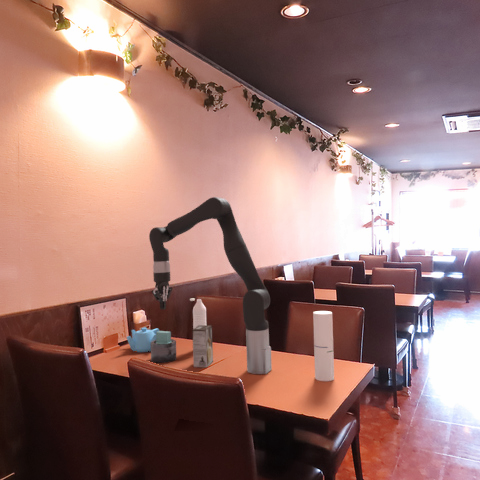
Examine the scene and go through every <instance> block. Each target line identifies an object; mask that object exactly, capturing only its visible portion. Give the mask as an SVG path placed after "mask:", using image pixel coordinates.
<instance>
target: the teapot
mask: <svg viewBox="0 0 480 480" xmlns="http://www.w3.org/2000/svg"><path fill="white" fill-rule="evenodd" d="M158 331H160V329H159V328H154V329H148V328H147V327H145V326H144V327H141V329H140V330H137V331H136V330H135V329H131V335H129V336H126V339H127V342H128V345H129V347H130V349H131V351H132V352H134V351H137V352H136V353H148V351H149V352H151V342H152V341H154V340H156V332H158Z"/></svg>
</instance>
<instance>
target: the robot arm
mask: <svg viewBox="0 0 480 480" xmlns="http://www.w3.org/2000/svg"><path fill="white" fill-rule="evenodd" d="M207 220H216V221H217V222H218V225H219V227H220V229H221V231H222V236H223V237H222V239H223V250H224V252H225V255H226V257H227V261H228V262H229V265H231V268H232V269H233V270H234V272H236V274H237V275H238V276H239V277H240V278H241V280H242V281H243V282H244V285H245V287H246V289H247V291H246V292H245V293H244V296H242V297H243V298H242V311H243V312H242V314H243V322H244V325H245V336H246V337H245V342H246V343H245V344H246V371H247V373H250V374H253V375H262V374H263V375H267V374H268V373H269V372H270V371H271V370H272V347H271V346H270V334H269V333H270V332H269V330H270V329H269V328H270V327H269V321H268V320H266V318H265V317H266V316H265V310H266V309H268V308H269V306H270V304H271V297H270V293H269V291H268V289H267V288H266V286H265V284H264V283H263V281H262V278H261V277H260V275H259V273H258V270H257V268H256V265H255V263H254V261H253V259H252V256H251V254H250V251H249V249H248V247H247V245H246V242H245V240H244V239H243V236H242V233H241V231H240V229H239V227H238V225H237V222H236V218H235V215H234V212H233V209H232V207H231V204H230V202H229V201H228V200H227V199H226V198H223V197H216V196H213V197H210V198H208V199H207V200H205V201H204V202H202V203H201V204H199V205H198V206H197V207H196V208H194V209H193V210H190V211H189V212H187V213H185V214H184V215H182V216H179V217H176V218H175V219H173V220H171V221H170V222H168V223H167V225H166V226H163V227H156V226H155V227H152V228H151V229H150V232H149V237H148V239H149V242H150V246H151V250H152V253H153V255H152V258H153V264H152V270H153V271H152V272H153V274H152V275H153V282H154V283H155V286H154V289H152V290H151V293H152V295H153V297H154V298H155V300H156V301H158V302H159V309H160V310H162V311H163V310H166V309H167V300H169V299H170V297H171V295H172V292H173V287H171V286H170V281H171V264H170V252H169V249H168V248H166V247H165V246H164V245H165V244H166V243H168V242H170V241H172V240H173V239H175V238H176V237H178V236H179V235H182V234H184V233H187V232H188V231H190V230H191V229H192V228H194V227H196V225H198V224H200V223H201V222H204V221H207ZM164 243H165V244H164Z"/></svg>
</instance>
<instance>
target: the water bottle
mask: <svg viewBox="0 0 480 480" xmlns="http://www.w3.org/2000/svg"><path fill="white" fill-rule="evenodd" d="M195 300H196V303H195V304H194V306H193V309H192V319H193V320H192V321H193V322H192V326H193V327H192V328H193V329H194V328H196V327H197V326H198V325H208V324H207V307H206V306H205V305H204V303H203V300H202V299H201V298H197V299H196V298H194V297H192V298H189V301H190V302H193V301H194V302H195ZM193 329H192V330H193Z"/></svg>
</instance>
